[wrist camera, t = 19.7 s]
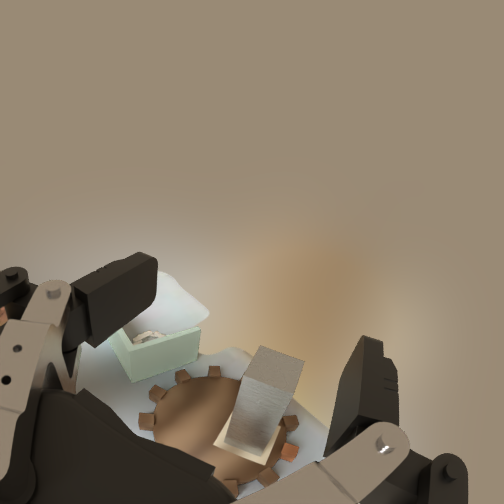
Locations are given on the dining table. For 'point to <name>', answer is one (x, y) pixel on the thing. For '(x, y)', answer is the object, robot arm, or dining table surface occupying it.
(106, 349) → the dining table surface
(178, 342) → the l-shaped corner panel
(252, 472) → the sprocket plate
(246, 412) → the brushed metal block
